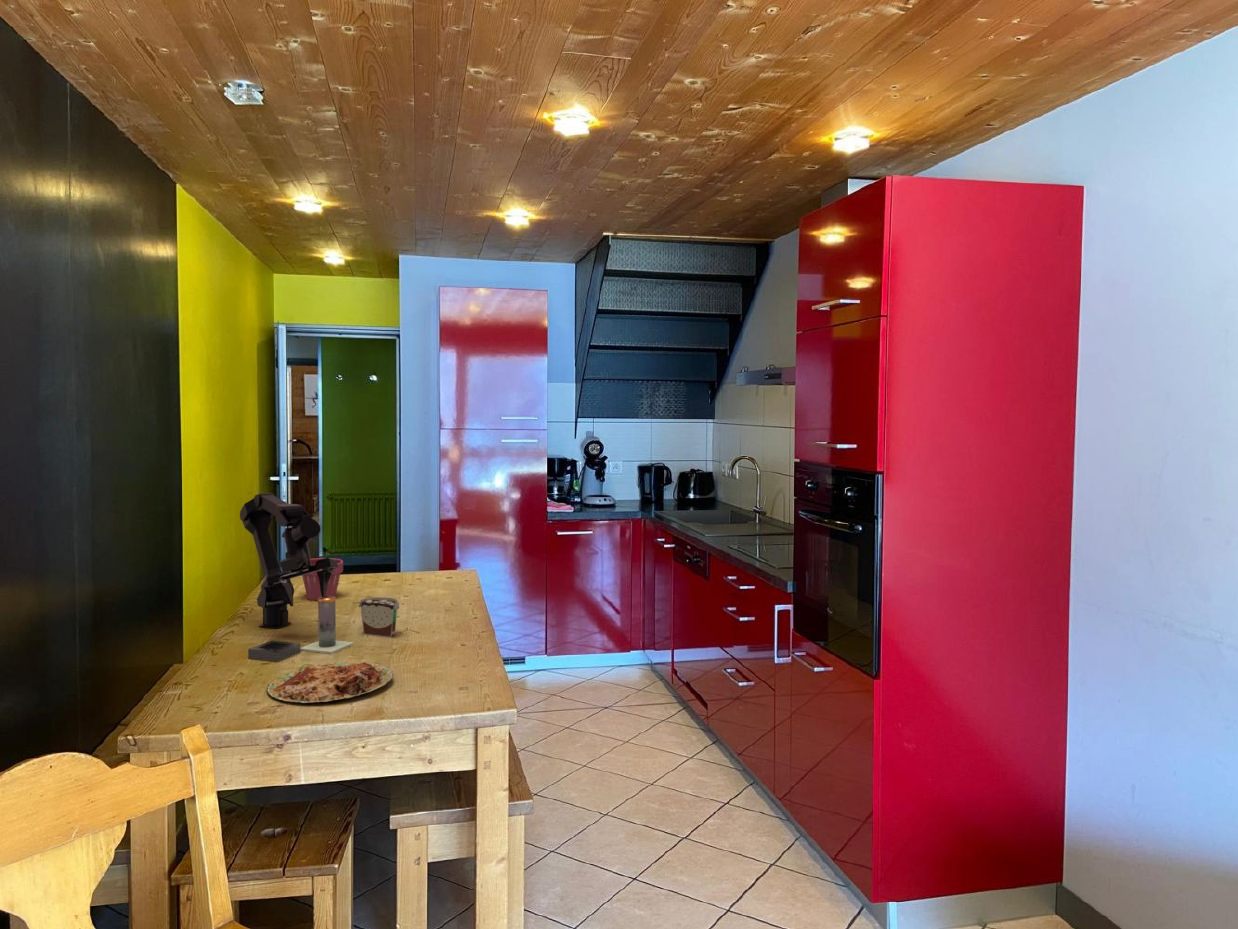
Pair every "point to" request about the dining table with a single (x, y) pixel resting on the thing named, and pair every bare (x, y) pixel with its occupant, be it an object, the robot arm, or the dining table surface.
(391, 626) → the food container
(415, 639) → the dining table surface
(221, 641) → the dining table surface
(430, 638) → the dining table surface
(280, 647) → the block
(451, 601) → the dining table surface
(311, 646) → the rest pad
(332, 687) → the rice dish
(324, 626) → the steel peg
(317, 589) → the plant pot
